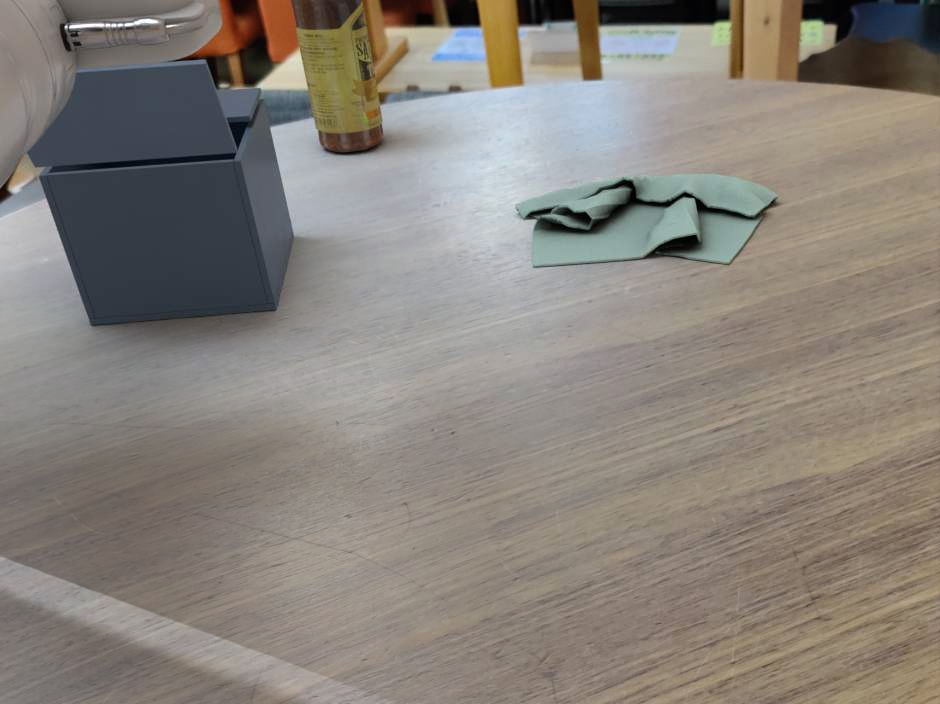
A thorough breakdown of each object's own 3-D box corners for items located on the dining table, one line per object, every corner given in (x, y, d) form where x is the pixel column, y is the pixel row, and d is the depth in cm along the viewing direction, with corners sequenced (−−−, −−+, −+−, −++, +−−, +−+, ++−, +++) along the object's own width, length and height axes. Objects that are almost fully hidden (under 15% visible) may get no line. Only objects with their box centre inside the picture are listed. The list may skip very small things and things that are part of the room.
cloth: (806, 194, 100) (808, 164, 99) (691, 298, 86) (691, 265, 84) (593, 162, 108) (591, 134, 106) (454, 252, 93) (450, 221, 92)
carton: (276, 310, 86) (237, 148, 79) (90, 325, 85) (33, 163, 78) (294, 235, 97) (261, 87, 90) (129, 248, 96) (82, 99, 89)
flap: (237, 148, 79) (237, 153, 79) (35, 163, 78) (35, 168, 78) (205, 59, 73) (205, 63, 73) (-14, 74, 72) (-15, 78, 72)
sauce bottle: (389, 150, 112) (349, -97, 99) (321, 158, 111) (272, -90, 98) (382, 129, 117) (343, -109, 104) (317, 137, 116) (269, -103, 103)
